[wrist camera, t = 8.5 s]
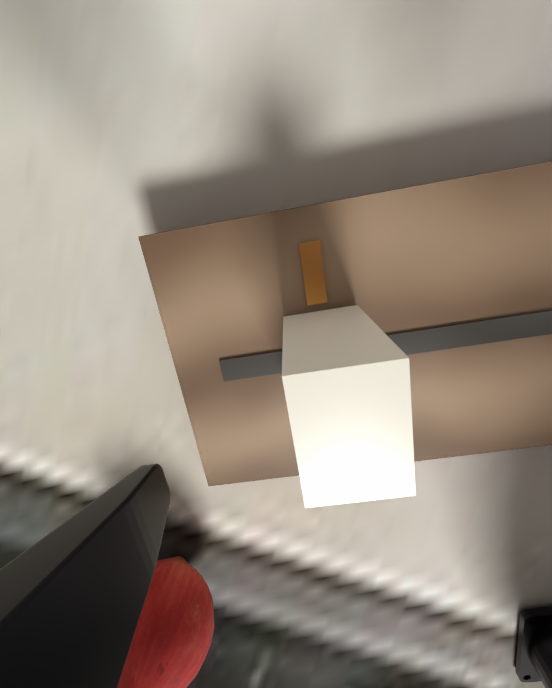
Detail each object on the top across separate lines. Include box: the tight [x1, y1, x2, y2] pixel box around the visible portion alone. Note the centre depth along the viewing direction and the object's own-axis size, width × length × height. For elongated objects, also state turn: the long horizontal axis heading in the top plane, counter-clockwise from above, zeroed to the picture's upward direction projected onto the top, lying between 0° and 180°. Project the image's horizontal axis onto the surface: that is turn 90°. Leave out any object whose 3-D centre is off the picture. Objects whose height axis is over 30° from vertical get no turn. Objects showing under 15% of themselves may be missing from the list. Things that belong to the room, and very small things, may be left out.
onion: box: [117, 556, 214, 688], centre depth 17 cm, size 6×6×8 cm
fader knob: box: [282, 305, 416, 508], centre depth 11 cm, size 4×3×6 cm
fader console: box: [139, 161, 552, 486], centre depth 15 cm, size 12×25×2 cm, turn 100°
